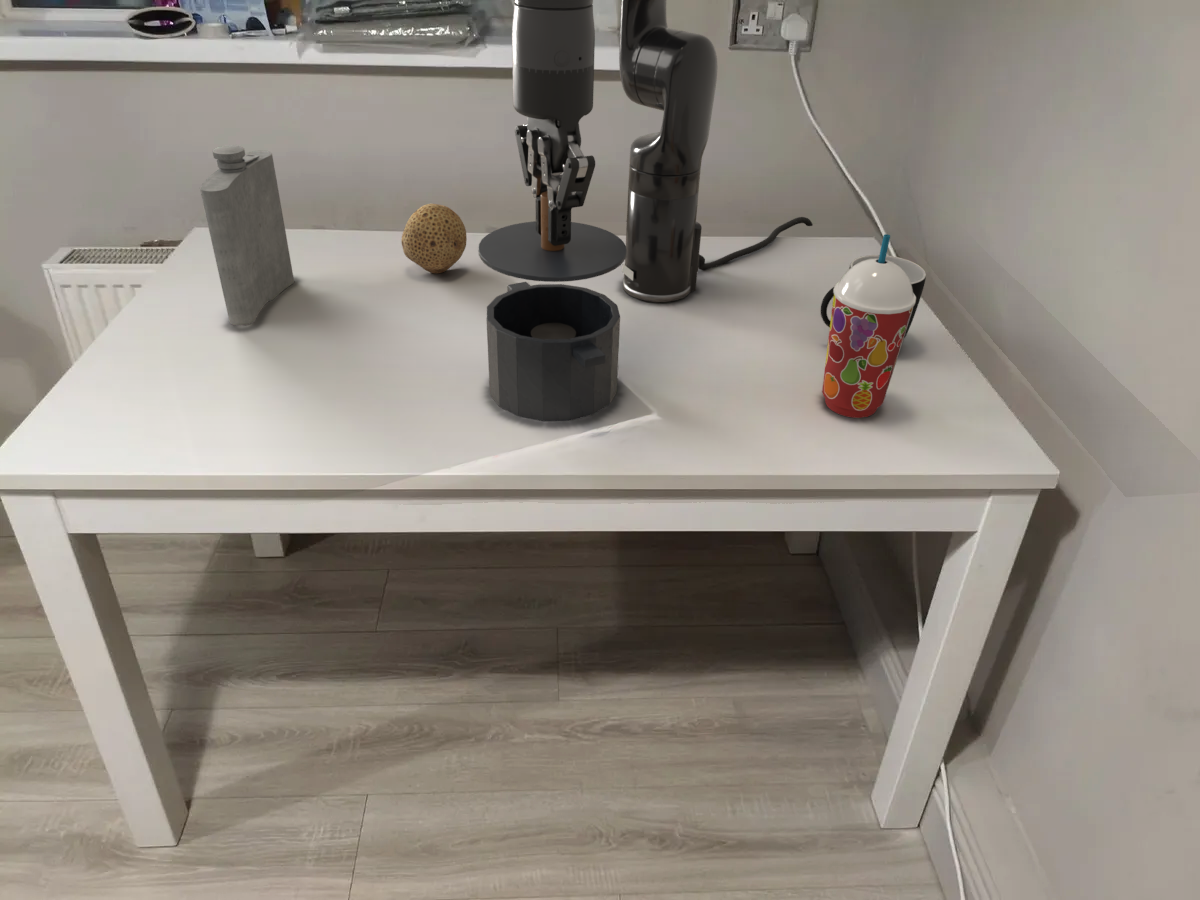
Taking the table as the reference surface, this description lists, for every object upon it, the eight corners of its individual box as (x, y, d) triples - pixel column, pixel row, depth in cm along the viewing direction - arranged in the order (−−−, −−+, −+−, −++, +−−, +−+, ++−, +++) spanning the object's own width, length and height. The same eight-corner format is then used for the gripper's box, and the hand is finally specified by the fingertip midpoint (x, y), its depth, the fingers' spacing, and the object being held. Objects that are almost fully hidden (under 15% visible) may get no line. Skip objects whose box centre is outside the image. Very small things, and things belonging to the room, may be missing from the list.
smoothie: (891, 394, 105) (931, 227, 94) (885, 431, 99) (928, 256, 87) (818, 381, 107) (849, 216, 96) (808, 416, 101) (840, 243, 90)
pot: (570, 342, 114) (571, 267, 108) (650, 419, 99) (656, 337, 94) (463, 365, 108) (458, 287, 102) (531, 450, 94) (530, 365, 88)
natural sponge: (472, 285, 127) (468, 215, 121) (407, 290, 125) (400, 219, 119) (465, 260, 134) (461, 193, 128) (403, 264, 132) (396, 196, 126)
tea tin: (563, 373, 106) (564, 319, 102) (583, 393, 103) (584, 338, 99) (524, 382, 104) (523, 327, 100) (542, 403, 101) (542, 347, 97)
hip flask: (250, 330, 114) (217, 170, 102) (219, 328, 114) (182, 167, 103) (297, 278, 127) (272, 131, 115) (269, 276, 127) (241, 129, 116)
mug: (891, 326, 120) (908, 253, 114) (919, 359, 112) (939, 283, 107) (803, 329, 118) (815, 256, 113) (826, 363, 111) (841, 286, 105)
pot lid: (584, 222, 103) (586, 163, 99) (653, 272, 92) (657, 208, 88) (457, 242, 97) (453, 180, 93) (514, 298, 86) (512, 231, 82)
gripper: (626, 70, 80) (617, 257, 90) (557, 41, 90) (556, 211, 100) (548, 77, 77) (548, 269, 87) (486, 45, 87) (492, 221, 97)
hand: (553, 237), depth 93 cm, fingers closed on pot lid, 2 cm apart
